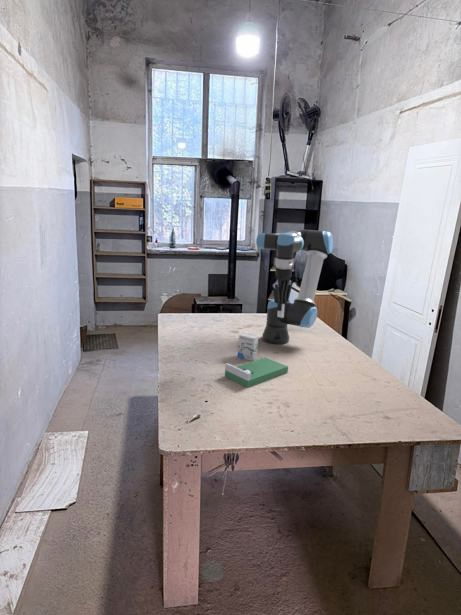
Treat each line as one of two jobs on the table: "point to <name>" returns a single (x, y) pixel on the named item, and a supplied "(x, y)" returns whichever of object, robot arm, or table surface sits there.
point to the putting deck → (255, 371)
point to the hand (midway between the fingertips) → (280, 316)
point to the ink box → (247, 346)
